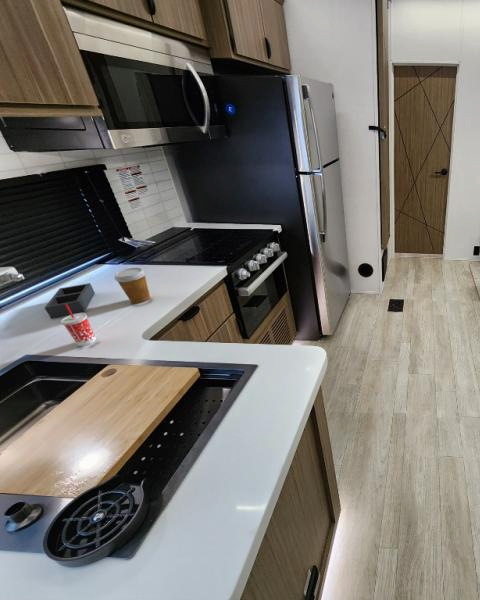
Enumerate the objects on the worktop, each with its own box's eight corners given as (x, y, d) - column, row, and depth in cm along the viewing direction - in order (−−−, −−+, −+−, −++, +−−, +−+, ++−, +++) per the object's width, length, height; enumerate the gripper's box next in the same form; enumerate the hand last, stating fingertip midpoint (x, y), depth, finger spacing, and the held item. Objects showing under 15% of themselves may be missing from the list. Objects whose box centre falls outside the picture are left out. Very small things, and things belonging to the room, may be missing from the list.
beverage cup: (102, 334, 109) (83, 297, 103) (93, 345, 104) (72, 307, 98) (80, 338, 108) (59, 300, 101) (70, 348, 103) (46, 310, 96)
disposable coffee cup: (152, 292, 137) (141, 265, 131) (157, 299, 131) (146, 271, 125) (124, 299, 131) (111, 272, 125) (128, 308, 125) (115, 279, 119)
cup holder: (51, 318, 119) (44, 307, 117) (65, 298, 133) (59, 288, 130) (84, 312, 123) (78, 301, 121) (95, 293, 137) (90, 283, 135)
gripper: (-7, 281, 104) (42, 279, 105) (-81, 315, 86) (-21, 311, 87) (-20, 263, 101) (31, 260, 102) (-99, 293, 83) (-36, 289, 84)
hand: (7, 284), depth 95 cm, fingers open, 8 cm apart
